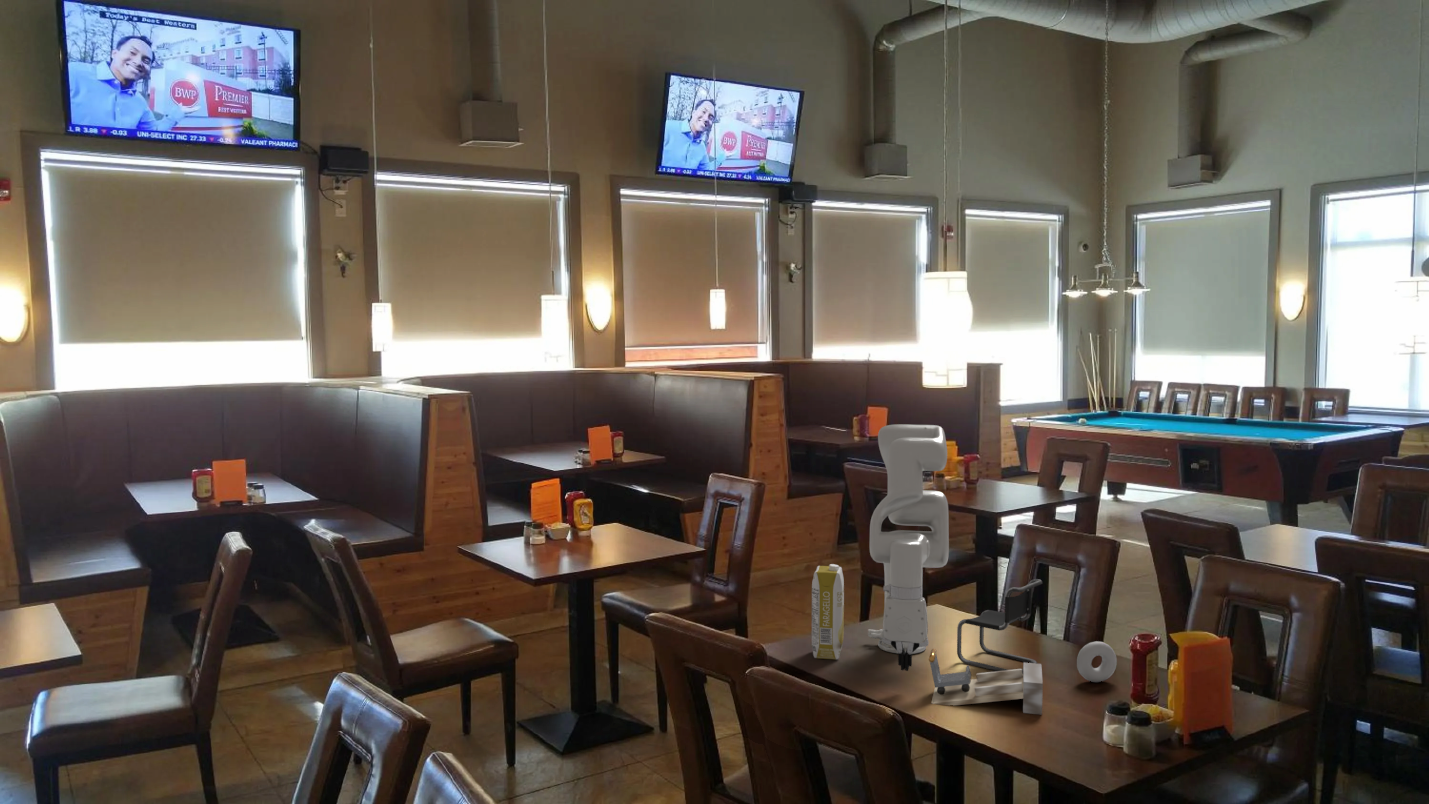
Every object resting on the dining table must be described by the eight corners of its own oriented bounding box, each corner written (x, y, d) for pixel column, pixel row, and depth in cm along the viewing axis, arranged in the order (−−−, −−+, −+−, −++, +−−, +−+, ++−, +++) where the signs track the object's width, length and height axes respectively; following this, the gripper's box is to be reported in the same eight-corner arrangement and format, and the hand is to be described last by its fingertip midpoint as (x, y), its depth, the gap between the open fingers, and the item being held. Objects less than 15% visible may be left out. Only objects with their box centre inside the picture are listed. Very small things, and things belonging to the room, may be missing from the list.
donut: (1080, 685, 240) (1081, 644, 240) (1073, 680, 244) (1074, 640, 243) (1119, 683, 242) (1120, 642, 241) (1111, 678, 245) (1112, 638, 245)
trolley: (928, 693, 232) (928, 656, 232) (930, 684, 239) (931, 648, 238) (969, 698, 230) (970, 660, 229) (971, 688, 236) (971, 651, 236)
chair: (1019, 677, 246) (1020, 588, 245) (955, 661, 258) (957, 577, 257) (1042, 664, 256) (1044, 579, 254) (980, 650, 268) (981, 568, 266)
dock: (931, 707, 229) (931, 673, 228) (936, 687, 242) (936, 654, 242) (1041, 718, 222) (1042, 683, 221) (1040, 697, 235) (1041, 663, 235)
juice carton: (841, 661, 258) (842, 569, 257) (810, 659, 260) (811, 567, 259) (844, 650, 268) (844, 561, 266) (814, 648, 269) (814, 560, 268)
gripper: (871, 593, 234) (871, 670, 236) (937, 598, 230) (936, 676, 231) (876, 586, 242) (875, 660, 243) (939, 590, 237) (938, 666, 238)
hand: (905, 668), depth 237 cm, fingers closed
